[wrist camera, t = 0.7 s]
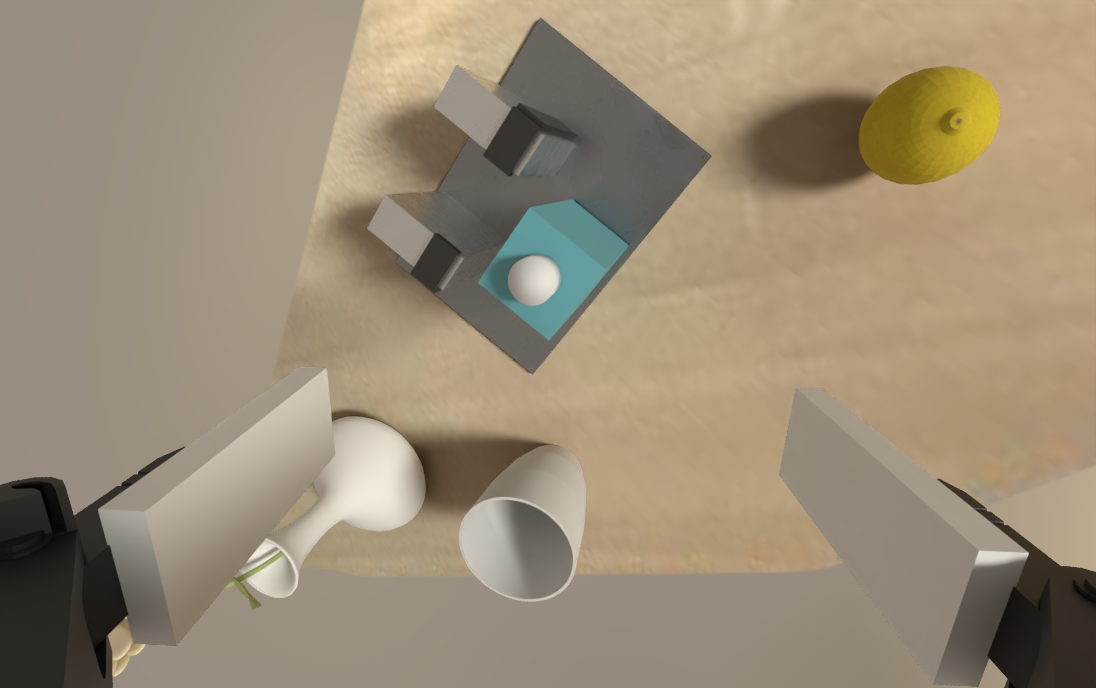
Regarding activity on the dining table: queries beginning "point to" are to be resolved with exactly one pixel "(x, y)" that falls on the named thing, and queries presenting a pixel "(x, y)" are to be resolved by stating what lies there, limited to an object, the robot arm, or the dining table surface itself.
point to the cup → (528, 526)
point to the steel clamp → (535, 178)
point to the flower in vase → (327, 512)
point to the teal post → (552, 264)
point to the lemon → (929, 125)
